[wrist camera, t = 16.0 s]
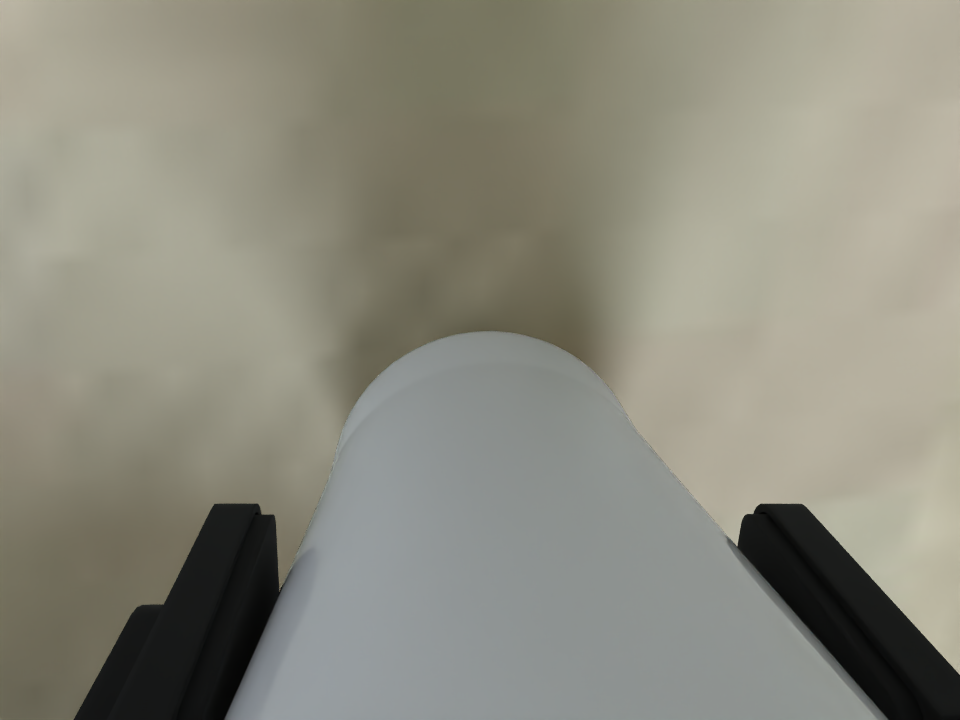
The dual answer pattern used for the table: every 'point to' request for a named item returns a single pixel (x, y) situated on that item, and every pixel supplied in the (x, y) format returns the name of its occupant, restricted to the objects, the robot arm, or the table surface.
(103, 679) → the robot arm
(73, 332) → the table surface
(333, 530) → the drinking glass
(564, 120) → the table surface
